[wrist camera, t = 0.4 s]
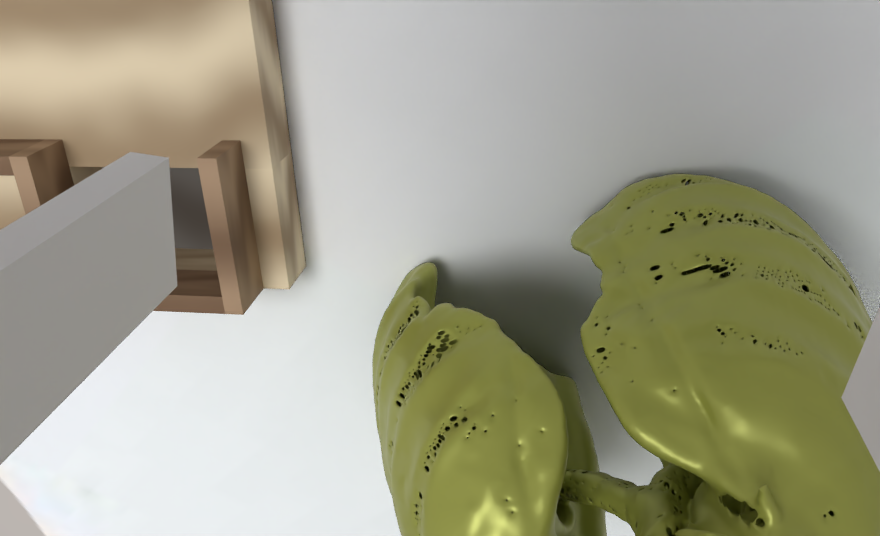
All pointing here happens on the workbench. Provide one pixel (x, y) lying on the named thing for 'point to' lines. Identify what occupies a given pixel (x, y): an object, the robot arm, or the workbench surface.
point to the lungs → (643, 385)
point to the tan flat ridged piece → (159, 128)
